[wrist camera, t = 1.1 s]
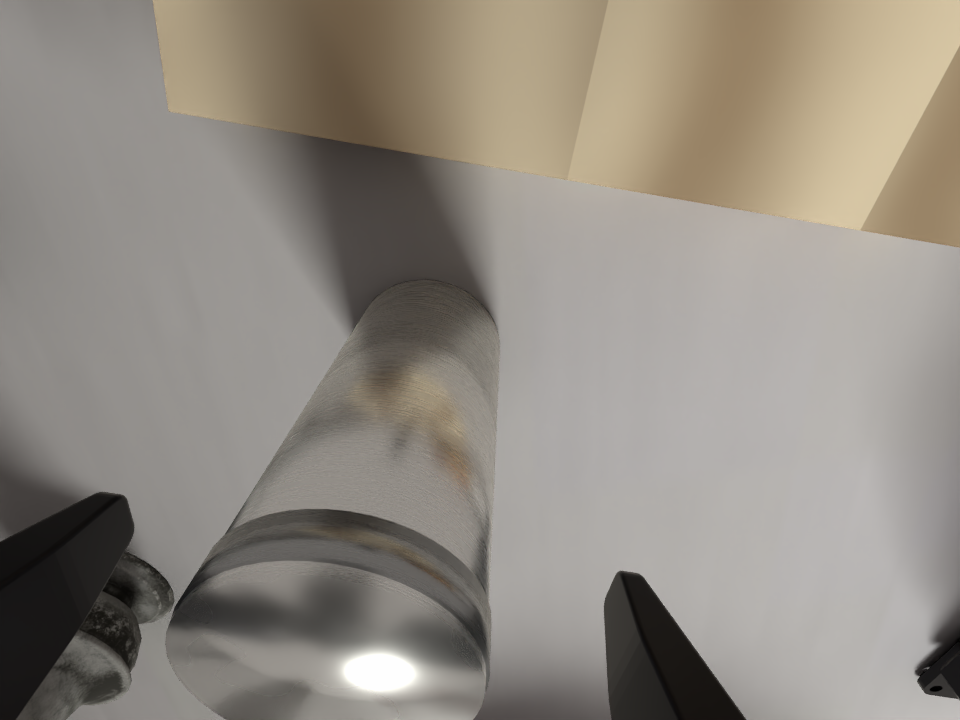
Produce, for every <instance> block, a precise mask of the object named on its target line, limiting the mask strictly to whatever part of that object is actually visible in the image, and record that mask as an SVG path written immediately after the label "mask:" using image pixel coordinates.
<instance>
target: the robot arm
mask: <svg viewBox="0 0 960 720" xmlns="http://www.w3.org/2000/svg"><path fill="white" fill-rule="evenodd" d="M133 533H134V522H133V519H132V515H131V511H130V508H129V504H128V501H127V498H126V497H125V496H124V495H121V494H115V493H108V492H99V493H96V494H93V495H91V496H89V497H87V498H85V499H83V500H81V501H79V502H77V503H75V504H73V505H71V506H69V507H68V508H66V509H64V510H62V511H60V512H58V513H56V514H54V515H52V516H50V517H48V518H46V519H44V520H42V521H40V522H38V523H36V524H34V525H32V526H30V527H28V528H26V529H24V530H22V531H20V532H18V533H16V534H14V535H12V536H10V537H8V538H7V539H5V540H3V541H1V542H0V720H16V719H17V718H18V716H19V715H20V713H21V712H22V711H23V709H24V708H25V706H26V705H27V703H28V702H29V701H30V699H31V698H32V696H33V695H34V693H35V692H36V691H37V689H38V688H39V686H40V685H41V683H42V682H43V681H44V679H45V678H46V676H47V675H48V673H49V672H50V671H51V669H52V668H53V666H54V665H55V663H56V662H57V660H58V659H59V658H60V656H61V655H62V653H63V652H64V650H65V649H66V648H67V646H68V645H69V643H70V642H71V640H72V639H73V638H74V636H75V635H76V633H77V632H78V630H79V629H80V627H81V626H82V624H83V623H84V621H85V619H86V618H87V616H88V614H89V613H90V611H91V609H92V608H93V606H94V604H95V603H96V601H97V599H98V597H99V595H100V594H101V592H102V590H103V588H104V587H105V585H106V583H107V581H108V580H109V578H110V576H111V574H112V573H113V571H114V569H115V567H116V566H117V564H118V562H119V560H120V559H121V557H122V555H123V553H124V552H125V550H126V548H127V546H128V544H129V543H130V541H131V539H132V536H133ZM604 621H605V640H606V659H607V678H608V693H609V704H610V711H611V718H612V720H746V718H745V717H744V716H743V714H742V713H741V712H740V710H739V709H738V707H737V706H736V705H735V703H734V702H733V700H732V699H731V698H730V696H729V695H728V694H727V692H726V691H725V689H724V688H723V687H722V685H721V684H720V682H719V681H718V680H717V678H716V677H715V676H714V674H713V673H712V671H711V670H710V669H709V667H708V666H707V664H706V663H705V662H704V660H703V659H702V658H701V656H700V655H699V653H698V652H697V651H696V649H695V648H694V646H693V645H692V644H691V642H690V641H689V640H688V638H687V637H686V635H685V634H684V633H683V631H682V630H681V628H680V627H679V626H678V624H677V623H676V622H675V620H674V619H673V617H672V616H671V615H670V613H669V612H668V610H667V609H666V608H665V606H664V605H663V604H662V602H661V601H660V599H659V598H658V597H657V595H656V594H655V593H654V591H653V590H652V588H651V587H650V586H649V584H648V583H647V581H646V580H645V579H644V577H643V576H641V575H640V574H638V573H633V572H627V571H619V572H618V573H617V574H616V575H615V577H614V580H613V582H612V584H611V586H610V589H609V591H608V593H607V595H606V598H605V603H604ZM917 682H918V684H919V685H920V687H921V688H922V690H923V691H924V692H925V693H926V694H929V695H935V696H942V697H949V698H956V699H959V700H960V641H959V642H958V643H957V644H955V645H954V646H953V647H952V648H951V649H950V650H949V651H948V652H947V653H946V654H944V655H943V656H942V657H941V658H940V659H939V660H938V661H937V662H936V663H935V664H934V665H932V666H931V667H930V668H929V669H928V670H927V671H926V672H925V673H924V674H923V675H922V676H920V677H919V679H918V680H917Z"/></svg>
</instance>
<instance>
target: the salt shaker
mask: <svg viewBox="0 0 960 720" xmlns="http://www.w3.org/2000/svg"><path fill="white" fill-rule="evenodd" d="M173 603H174V596H173V591H172V589H171V587H170V585H169V584H168V582H167V581H166V580H165V579H164V577H163V576H162V575H161V574H160V573H159V572H158V571H156V570H155V569H154V568H152V567H151V566H150V565H148V564H147V563H145V562H143V561H141V560H139V559H137V558H136V557H134V556H132V555H129V554H126V553H123V555H122V557H121V559H120V560H119V562H118V564H117V566H116V567H115V569H114V571H113V573H112V574H111V576H110V578H109V580H108V581H107V583H106V585H105V587H104V588H103V590H102V592H101V594H100V595H99V597H98V599H97V601H96V603H95V604H94V606H93V608H92V609H91V611H90V613H89V614H88V616H87V618H86V619H85V621H84V623H83V624H82V626H81V627H80V629H79V630H78V632H77V633H76V635H75V636H74V638H73V639H72V640H71V642H70V643H69V645H68V646H67V648H66V649H65V650H64V652H63V653H62V655H61V656H60V658H59V659H58V660H57V662H56V663H55V665H54V666H53V668H52V669H51V671H50V672H49V673H48V675H47V676H46V678H45V679H44V681H43V682H42V683H41V685H40V686H39V688H38V689H37V691H36V692H35V693H34V695H33V696H32V698H31V699H30V701H29V702H28V703H27V705H26V706H25V708H24V709H23V711H22V712H21V713H20V715H19V716H18V718H17V719H16V720H66V719H67V718H68V717H69V716H70V715H71V714H72V713H73V712H74V711H75V710H76V709H77V708H78V707H79V706H81V705H99V704H107V703H109V702H112V701H115V700H117V699H119V698H121V697H122V696H123V695H124V694H125V693H126V692H127V691H128V690H129V687H130V684H131V681H132V679H131V674H130V672H131V670H132V669H133V667H134V666H135V663H136V660H137V656H138V652H139V647H140V643H141V639H142V638H141V634H140V629H139V625H138V624H144V623H150V622H154V621H157V620H159V619H161V618H164V617H165V616H166V615H167V614H168V613H169V612H170V611H171V609H172V606H173Z"/></svg>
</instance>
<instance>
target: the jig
mask: <svg viewBox="0 0 960 720" xmlns="http://www.w3.org/2000/svg"><path fill="white" fill-rule="evenodd" d="M153 6H154V12H155V19H156V26H157V33H158V40H159V47H160V54H161V61H162V68H163V75H164V82H165V89H166V96H167V103H168V110H169V112H175V113H180V114H186V115H192V116H198V117H204V118H209V119H215V120H221V121H227V122H233V123H239V124H244V125H250V126H256V127H262V128H268V129H273V130H279V131H285V132H291V133H297V134H303V135H308V136H314V137H320V138H326V139H332V140H337V141H343V142H349V143H355V144H361V145H367V146H372V147H378V148H384V149H390V150H396V151H401V152H407V153H413V154H419V155H425V156H431V157H436V158H442V159H448V160H454V161H460V162H465V163H471V164H477V165H483V166H489V167H495V168H500V169H506V170H512V171H518V172H524V173H529V174H535V175H541V176H547V177H553V178H559V179H564V180H570V181H576V182H582V183H588V184H593V185H599V186H605V187H611V188H617V189H623V190H628V191H634V192H640V193H646V194H652V195H657V196H663V197H669V198H675V199H681V200H687V201H692V202H698V203H704V204H710V205H716V206H721V207H727V208H733V209H739V210H745V211H750V212H756V213H762V214H768V215H774V216H780V217H785V218H791V219H797V220H803V221H809V222H814V223H820V224H826V225H832V226H838V227H844V228H849V229H855V230H861V231H867V232H873V233H878V234H884V235H890V236H896V237H902V238H908V239H913V240H919V241H925V242H931V243H937V244H942V245H948V246H954V247H960V0H153Z"/></svg>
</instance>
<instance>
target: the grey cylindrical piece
mask: <svg viewBox="0 0 960 720" xmlns="http://www.w3.org/2000/svg"><path fill="white" fill-rule="evenodd" d="M499 361H500V341H499V335H498V332H497V329H496V326H495V323H494V321H493V319H492V317H491V316H490V314H489V313H488V312H487V310H486V309H485V308H484V307H483V306H482V304H481V303H480V302H479V301H477V300H476V299H475V298H474V297H473V296H471V295H470V294H468V293H467V292H465V291H464V290H462V289H460V288H458V287H456V286H453V285H450V284H447V283H444V282H439V281H433V280H414V281H408V282H404V283H400V284H397V285H395V286H393V287H391V288H389V289H387V290H385V291H384V292H382V293H381V294H380V295H379V296H377V297H376V298H375V299H374V300H373V301H372V302H371V304H370V305H369V306H368V308H367V309H366V311H365V312H364V314H363V316H362V317H361V319H360V320H359V322H358V324H357V325H356V327H355V328H354V330H353V332H352V333H351V335H350V336H349V338H348V340H347V341H346V343H345V344H344V346H343V347H342V349H341V351H340V352H339V354H338V355H337V357H336V359H335V360H334V362H333V363H332V365H331V367H330V368H329V370H328V371H327V373H326V375H325V376H324V378H323V379H322V381H321V382H320V384H319V386H318V387H317V389H316V390H315V392H314V394H313V395H312V397H311V398H310V400H309V402H308V403H307V405H306V406H305V408H304V410H303V411H302V413H301V414H300V416H299V417H298V419H297V421H296V422H295V424H294V425H293V427H292V429H291V430H290V432H289V433H288V435H287V437H286V438H285V440H284V441H283V443H282V445H281V446H280V448H279V449H278V451H277V452H276V454H275V456H274V457H273V459H272V460H271V462H270V464H269V465H268V467H267V468H266V470H265V472H264V473H263V475H262V476H261V478H260V480H259V481H258V483H257V484H256V486H255V487H254V489H253V491H252V492H251V494H250V495H249V497H248V499H247V500H246V502H245V503H244V505H243V507H242V508H241V510H240V511H239V513H238V515H237V516H236V518H235V519H234V521H233V523H232V524H231V526H230V527H229V529H228V530H227V532H226V534H225V535H224V536H223V537H222V538H221V539H220V540H219V541H218V542H217V543H216V544H215V545H214V546H213V548H212V550H211V551H210V553H209V554H208V556H207V557H206V559H205V561H204V562H203V564H202V565H201V567H200V568H199V570H198V572H197V573H196V575H195V576H194V578H193V579H192V581H191V583H190V584H189V586H188V587H187V589H186V590H185V592H184V593H183V595H182V597H181V598H180V600H179V601H178V603H177V604H176V606H175V609H174V612H173V615H172V618H171V621H170V624H169V627H168V629H167V632H166V644H165V645H166V651H167V657H168V659H169V662H170V664H171V667H172V669H173V670H174V672H175V674H176V675H177V677H178V679H179V680H180V681H181V682H182V684H183V685H184V686H185V687H186V688H187V690H188V691H189V692H190V693H191V694H193V695H194V696H195V697H196V698H197V699H198V700H199V701H200V702H201V703H203V704H204V705H205V706H207V707H208V708H209V709H211V710H212V711H214V712H215V713H217V714H218V715H220V716H221V717H223V718H225V719H226V720H473V719H474V718H475V716H476V715H477V714H478V712H479V711H480V708H481V706H482V704H483V701H484V696H485V692H486V689H487V687H488V681H489V676H490V649H491V610H490V606H489V594H490V571H491V548H492V524H493V501H494V478H495V454H496V431H497V408H498V384H499Z"/></svg>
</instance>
